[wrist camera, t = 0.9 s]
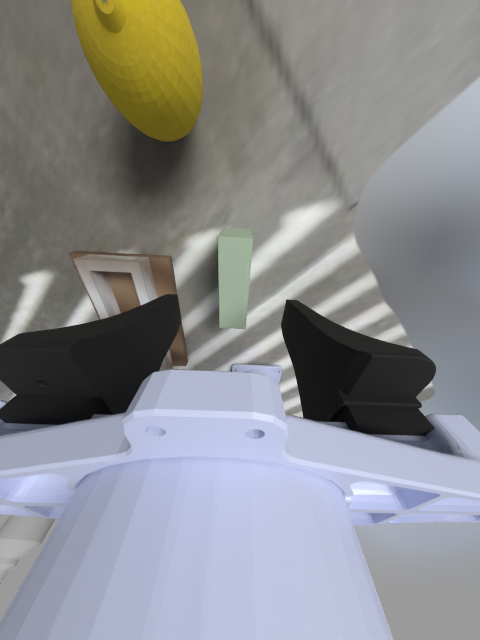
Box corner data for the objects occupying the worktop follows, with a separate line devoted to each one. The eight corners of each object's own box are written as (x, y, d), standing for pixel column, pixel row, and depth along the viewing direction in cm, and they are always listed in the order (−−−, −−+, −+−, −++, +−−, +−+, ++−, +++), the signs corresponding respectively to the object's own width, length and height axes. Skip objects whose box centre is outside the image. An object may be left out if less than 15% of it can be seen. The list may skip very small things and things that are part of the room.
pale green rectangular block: (244, 300, 22) (245, 329, 17) (224, 299, 22) (219, 327, 17) (249, 229, 18) (253, 238, 13) (224, 227, 18) (217, 236, 12)
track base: (187, 361, 28) (182, 376, 25) (123, 358, 27) (111, 374, 25) (171, 255, 19) (160, 263, 16) (76, 251, 19) (51, 258, 16)
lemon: (149, 156, 15) (71, 114, 8) (122, 42, 12) (-42, -182, 5) (215, 152, 14) (193, 105, 8) (205, 36, 11) (155, -204, 5)
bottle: (104, 403, 34) (-112, 716, 13) (122, 417, 37) (-35, 695, 16) (83, 408, 35) (-150, 707, 14) (102, 421, 38) (-71, 689, 17)
